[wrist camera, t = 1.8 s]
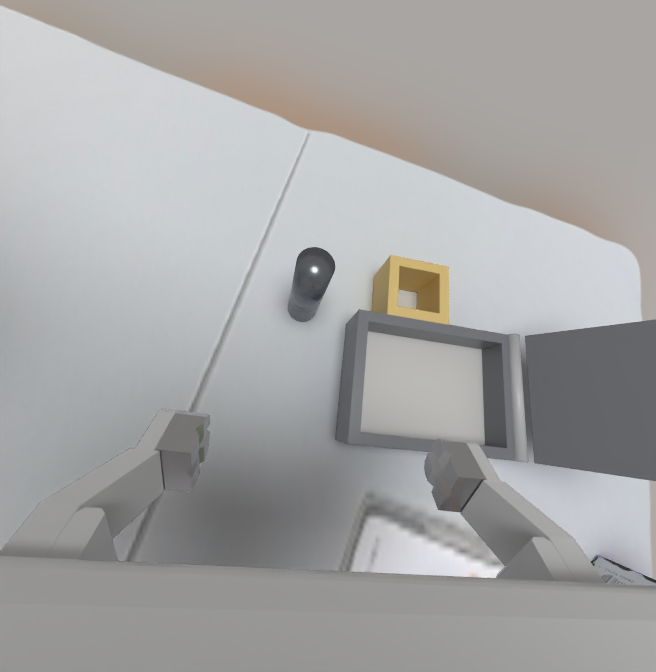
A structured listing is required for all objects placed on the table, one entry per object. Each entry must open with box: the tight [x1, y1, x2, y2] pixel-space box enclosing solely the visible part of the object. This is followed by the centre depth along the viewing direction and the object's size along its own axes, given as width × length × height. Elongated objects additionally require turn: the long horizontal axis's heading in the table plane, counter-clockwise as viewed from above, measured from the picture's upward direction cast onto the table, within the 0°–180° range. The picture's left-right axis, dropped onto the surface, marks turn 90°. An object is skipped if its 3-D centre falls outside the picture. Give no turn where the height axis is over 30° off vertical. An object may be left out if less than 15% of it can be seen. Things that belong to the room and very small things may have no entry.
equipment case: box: [335, 309, 528, 462], centre depth 30 cm, size 17×12×6 cm
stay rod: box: [288, 247, 335, 322], centre depth 28 cm, size 3×3×10 cm
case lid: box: [525, 320, 656, 481], centre depth 23 cm, size 16×12×1 cm
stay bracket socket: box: [372, 255, 449, 325], centre depth 33 cm, size 6×6×5 cm
